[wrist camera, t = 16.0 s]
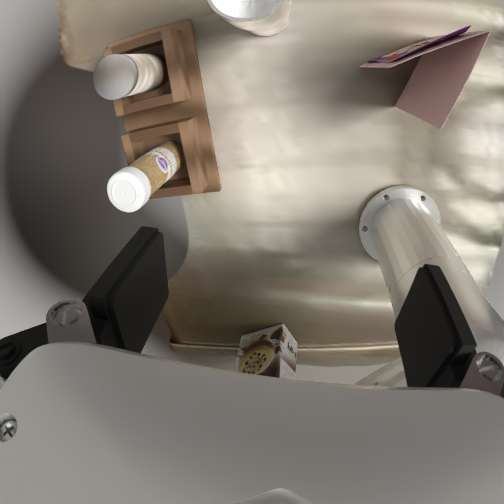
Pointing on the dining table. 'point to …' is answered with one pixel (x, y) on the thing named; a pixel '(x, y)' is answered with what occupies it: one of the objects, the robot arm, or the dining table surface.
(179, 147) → the sprinkles bottle
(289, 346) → the coffee box
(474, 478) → the robot arm
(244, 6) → the silver metal can
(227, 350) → the dining table surface
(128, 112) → the condiment rack
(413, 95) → the greeting card
